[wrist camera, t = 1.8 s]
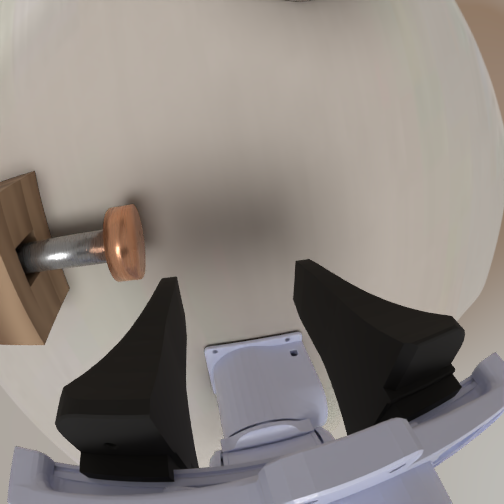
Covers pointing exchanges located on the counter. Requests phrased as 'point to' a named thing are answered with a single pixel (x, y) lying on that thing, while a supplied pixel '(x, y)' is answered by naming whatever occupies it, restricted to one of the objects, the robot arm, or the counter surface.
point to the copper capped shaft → (93, 247)
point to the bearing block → (11, 272)
